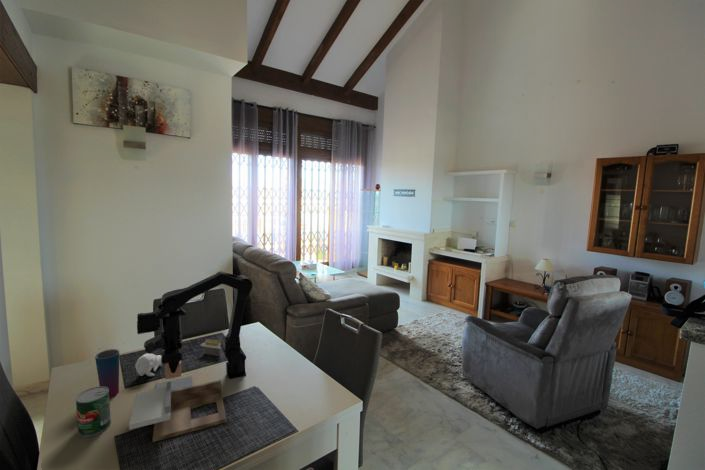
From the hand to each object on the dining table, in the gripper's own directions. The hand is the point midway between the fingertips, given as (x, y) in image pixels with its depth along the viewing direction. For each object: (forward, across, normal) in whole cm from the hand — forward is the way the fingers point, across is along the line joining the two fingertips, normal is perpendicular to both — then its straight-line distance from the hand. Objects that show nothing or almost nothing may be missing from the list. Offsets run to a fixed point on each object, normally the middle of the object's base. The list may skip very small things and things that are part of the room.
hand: (173, 369), depth 120 cm
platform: (+8, -22, +15) cm, 28 cm away
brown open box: (+8, +18, +5) cm, 20 cm away
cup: (+8, -6, -20) cm, 22 cm away
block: (+2, 0, 0) cm, 2 cm away
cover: (+2, +18, -6) cm, 19 cm away
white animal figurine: (+8, -17, -8) cm, 20 cm away
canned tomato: (+8, +12, -21) cm, 26 cm away
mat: (+8, 0, 0) cm, 8 cm away
